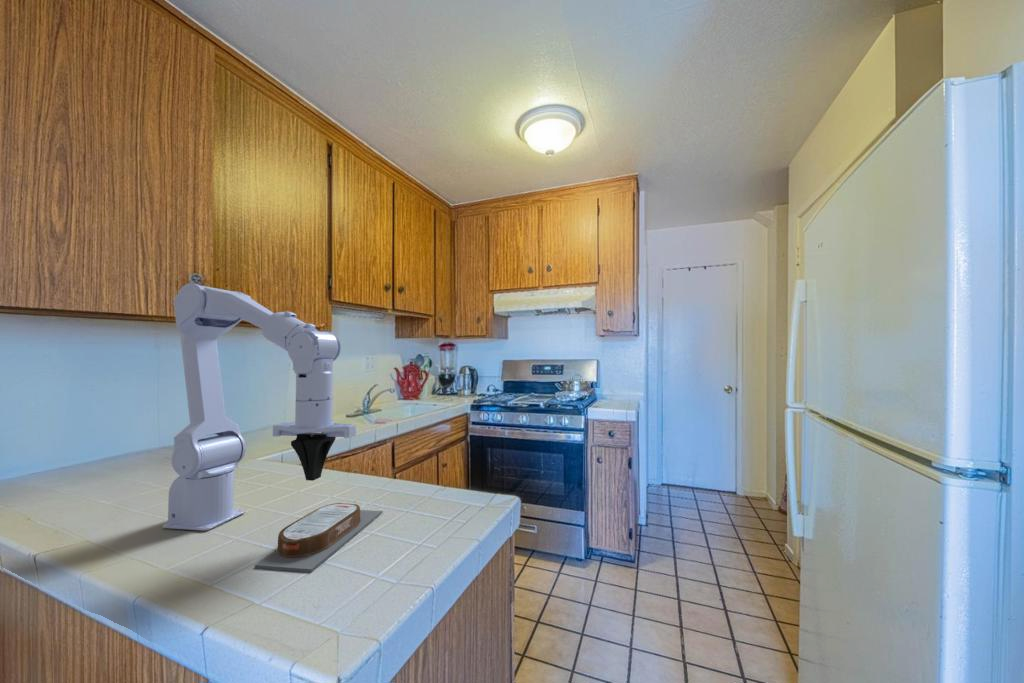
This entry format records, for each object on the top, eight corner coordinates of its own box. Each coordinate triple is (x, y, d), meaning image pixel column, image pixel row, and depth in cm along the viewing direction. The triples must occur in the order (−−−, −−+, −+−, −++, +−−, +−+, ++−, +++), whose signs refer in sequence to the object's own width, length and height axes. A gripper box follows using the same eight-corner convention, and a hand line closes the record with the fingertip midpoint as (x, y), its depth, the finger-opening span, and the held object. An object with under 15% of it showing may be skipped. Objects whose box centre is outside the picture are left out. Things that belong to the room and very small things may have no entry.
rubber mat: (254, 567, 53) (254, 565, 53) (339, 511, 73) (339, 508, 73) (311, 572, 52) (311, 569, 52) (382, 513, 71) (382, 511, 71)
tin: (263, 555, 55) (312, 564, 54) (264, 534, 56) (314, 542, 54) (329, 514, 70) (369, 519, 69) (330, 497, 70) (370, 502, 69)
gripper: (258, 401, 61) (257, 484, 61) (338, 402, 59) (337, 488, 58) (290, 397, 68) (289, 471, 68) (362, 397, 66) (362, 474, 65)
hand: (313, 478), depth 64 cm, fingers closed
